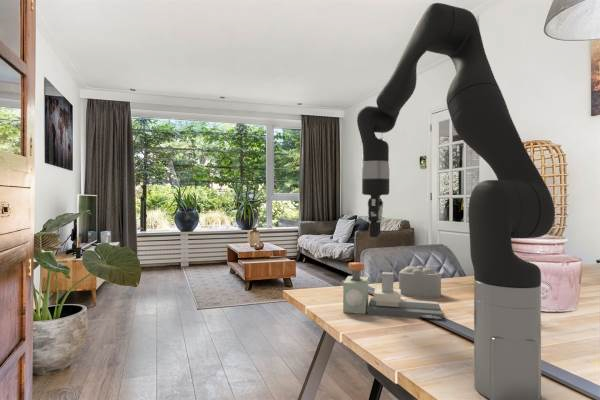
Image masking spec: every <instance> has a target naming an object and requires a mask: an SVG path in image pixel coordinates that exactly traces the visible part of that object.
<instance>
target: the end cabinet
mask: <svg viewBox="0 0 600 400" xmlns="http://www.w3.org/2000/svg"><path fill="white" fill-rule="evenodd" d="M342 284H343V288H342V290H343V292H342V293H343V295H342V297H343V301H342V306H343V307H342V309H343V310H342V312H343V313H347V314H348V313H352V314H364V315H366V313H367V308H368V305H369V285H370V284H369V276H360V281H352V275H348V276H347V277H346V278H345V280H344V281H343V283H342Z"/></svg>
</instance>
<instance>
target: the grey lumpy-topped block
mask: <svg viewBox="0 0 600 400" xmlns="http://www.w3.org/2000/svg"><path fill="white" fill-rule="evenodd" d="M398 289H401V296H408V297H415V298H438V297H439V298H440V297H441V296H442V274H441V272H439V271H436V270H435V269H434V268H432V267H428V266H427V267H425V266H423V265H417V266H412V265H411V266H410V265H408V266H406V267H404V268H402V269H401V270H400V271H399V272H398Z"/></svg>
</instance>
